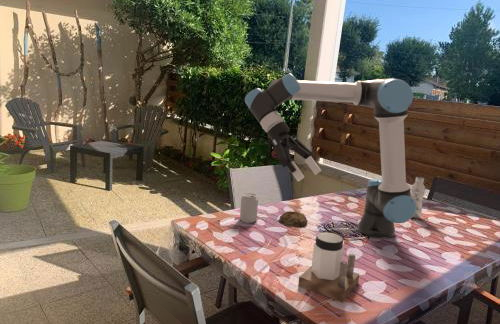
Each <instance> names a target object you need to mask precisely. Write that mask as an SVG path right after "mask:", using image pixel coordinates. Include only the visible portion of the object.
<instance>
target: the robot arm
mask: <svg viewBox="0 0 500 324" xmlns="http://www.w3.org/2000/svg"><path fill="white" fill-rule="evenodd" d="M413 95H414V94H413V89H412V87H411V86H410V85H409V84H408V82H406V81H404V80H402V79H400V78H378V79H371V80H356V81H355V82H341V81H340V82H338V81H337V82H336V81H317V80H316V81H315V80H299V79H297V78H296V77H295V76H294V75H293V74H292V73H287V74H285V75H284V76H282V77H280V78H279V79H277V78H276V79H273V80H272V81H271V82H270V83H269V84H268V86H267V88H266V89H264V90H262V89H261V88H259V87H257V88H254V89H252V90H250V91H249V92H248V93H246V95H245V97H244V103H245V104H246V106H247V107H248V109H249V111H250V112H251V113H252V114H253V116H254V118H255V119H256V120H257V122H258V123H259V124H260V126H261V128H262V130H264V132H265V133H267V136H268V138H269V139H270V140H271V144H272V146H273V147H274V151H275V153H276V156H277V158H278V161H279V164H280V165H281V166H282V167H283V168H286V167H287V169H288V170H289V172H290V173H291V175H292V176H293V177H294V179H295V180H296V182H297V183H298V182H300V181H302V180H303V179H304V178H305V175H304V174H303V171H301V169H300V168H299V167H298V166H297V164H296V162H295V161H294V160H292V157H291V151H293V152H294V153H296V154H298V155H299V156H300V157H302V158H303V159H304V163H305V164H306V165H307V166H308V167H309V169H310V170H311V171H312V173H313V174H314V176H316V175H318V174H319V173H320V172H322V169H321V168H320V166H319V165H318V163H317V162H316V161H315V160H314V158H313V157H312V156H313V155H314V154H313V152H312V151H311V150H310V149H309V148H308V147H307V146H306V145H305V144H304V143H303V142H302V141H300V139H299V138H298V137H297V136H296V135H295V134H292V135H290V134H289V132H290V127H289V125H288V124H287V123H286V122H285V121H284V119H283V118H282V116H281V114H279V112H278V111H277V110H276V108H278V107H279V106H280V105H282V104H284V103H285V102H286V101H289V100H291V101H292V100H295V101H313V102H314V101H315V102H317V101H318V102H334V103H352V104H353V105H354V106H361V107H367V108H371V109H373V117H374V119H375V120H376V121H377V122H378V124H379V125H378V129H379V146H380V147H379V148H380V149H379V150H380V165H381V166H380V167H381V178H373V179H371V178H370V179H369V180H368V182H367V185H366V193H365V201H364V202H365V203H364V210H363V214H362V217H361V218H360V220H359V222H358V225H357V231H359V232H360V233H362V235H363V234H364V235H366V236H368V237H372V238H377V239H390V238H393V237H394V236H395V235H396V228H395V224H404V223H406V222H409V221H410V220H411V219H413V218H412V217H413V216H414V214H415V212H416V203H415V201H414V199H413V198H411V185H410V184H409V183H407V176H406V174H407V173H406V171H407V170H406V151H405V149H406V148H405V146H406V145H405V124H404V123H405V122H404V120H405V119H406V118H407V117H408V115H409V109H408V108H409V107H410V106H411V104H413V103H412V102H413V100H414V96H413Z"/></svg>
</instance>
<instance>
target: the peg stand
mask: <svg viewBox="0 0 500 324" xmlns="http://www.w3.org/2000/svg"><path fill="white" fill-rule="evenodd" d="M347 257H348V258H347V262H345V261H342V262H341V263H340V270H339V277H338V278H336V279H335V280H326V279H320V278H318V277H317V276H316V275H315V274H314V273H313V272H312V271H311V270H312V265H311V266H310V267H309V268H307V269H306V270H305V271H304V272H303V273H302V274H300V275H299V277H298V287H301V288H303V289H305V290H309V291H311V292H314V293H317V294H319V295H322V296H324V297H327V298H330V299H333V300H335V301H338V302H340V303H344V301H345V300H346V299H347V297H348V296H349V295H350V294H351V293H352V292H353V290H354V289H355V288H356V286H357V285H358V284H359V279H360V273H357V272H354V270H355V262H356V255H355V254H354V253H349V254H348V256H347Z"/></svg>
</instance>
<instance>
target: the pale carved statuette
mask: <svg viewBox="0 0 500 324" xmlns="http://www.w3.org/2000/svg"><path fill="white" fill-rule="evenodd" d="M424 183H425V177H421V176H416V177H415V182H414V183H412V185H411V186H410V188H411V198H413V199H414V201H415V203H416V212H415V214H414V216H413V217H412V218H411V219H420V218H421V217H422V214H423V209H422V208H423V199H424V196H425V192H426V186H425V185H424Z"/></svg>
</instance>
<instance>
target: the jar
mask: <svg viewBox="0 0 500 324" xmlns="http://www.w3.org/2000/svg"><path fill="white" fill-rule="evenodd" d="M344 250H345V247H344V238H343V237H342V236H341V235H339V234H337V233H334V232H333V233H332V232H325V231H324V232H320V233H319V232H318V233H317V234H316V237H315V243H313V253H312V260H311V261H312V262H311V266H312V270H311V271H312V272H313V273H314V274H315V275H316V276H317V277H318V278H320V279H326V280H335V279H336V278H338V277H339V270H340V263H341V262H343V261H344V260H343V259H344Z"/></svg>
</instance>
